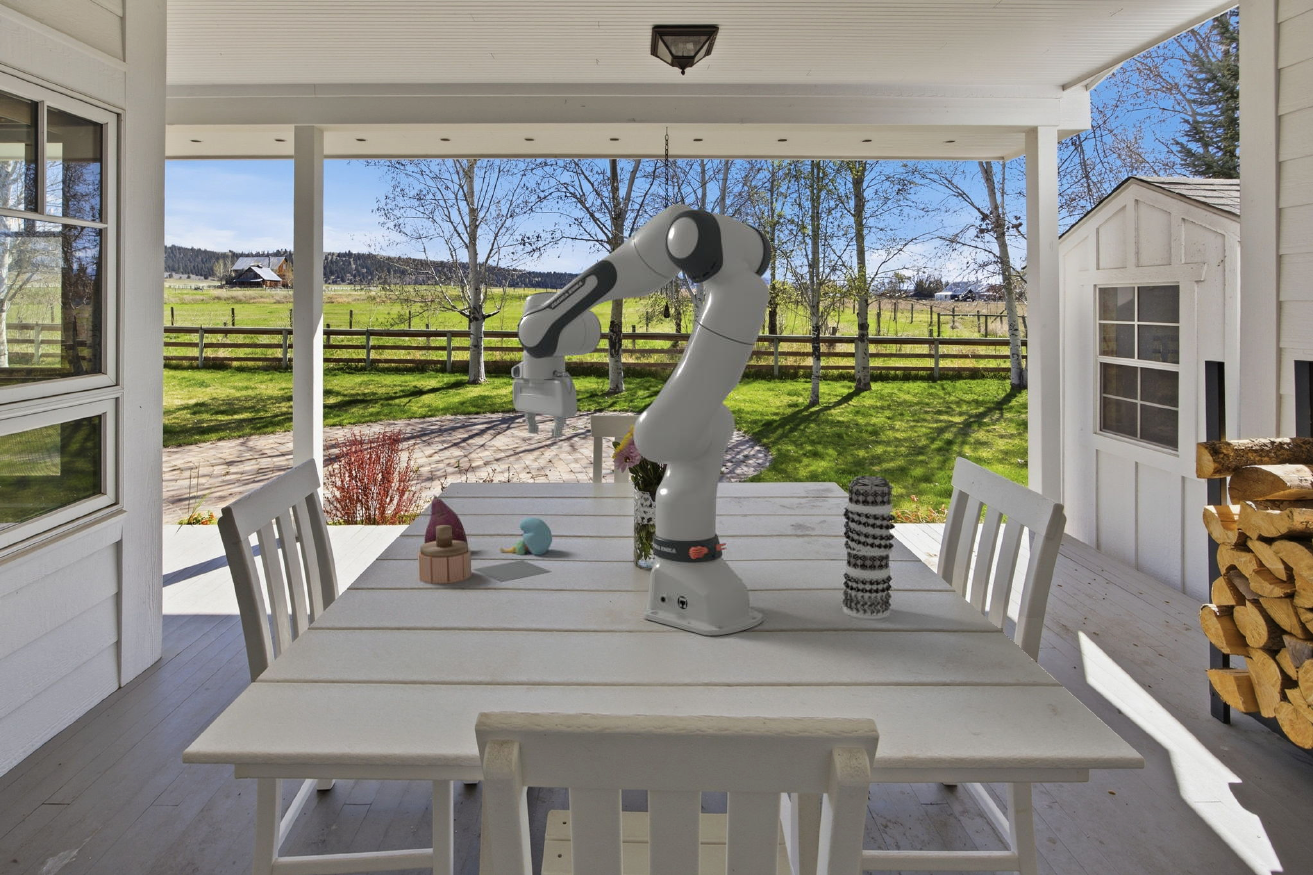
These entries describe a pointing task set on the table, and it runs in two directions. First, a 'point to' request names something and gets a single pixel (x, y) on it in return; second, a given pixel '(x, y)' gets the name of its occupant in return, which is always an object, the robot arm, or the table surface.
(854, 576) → the decorative candle
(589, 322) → the robot arm
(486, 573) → the mat
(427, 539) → the vegetable
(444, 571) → the faceted hollow tube
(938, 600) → the table surface
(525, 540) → the toy flower bud
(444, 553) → the lid
